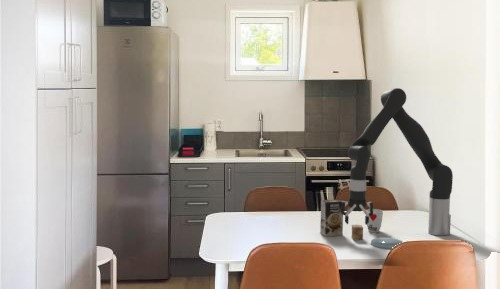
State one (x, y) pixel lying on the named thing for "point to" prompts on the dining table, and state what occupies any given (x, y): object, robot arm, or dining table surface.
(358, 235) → the block
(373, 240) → the dish
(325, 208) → the coffee box
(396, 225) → the dining table surface
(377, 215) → the cup
